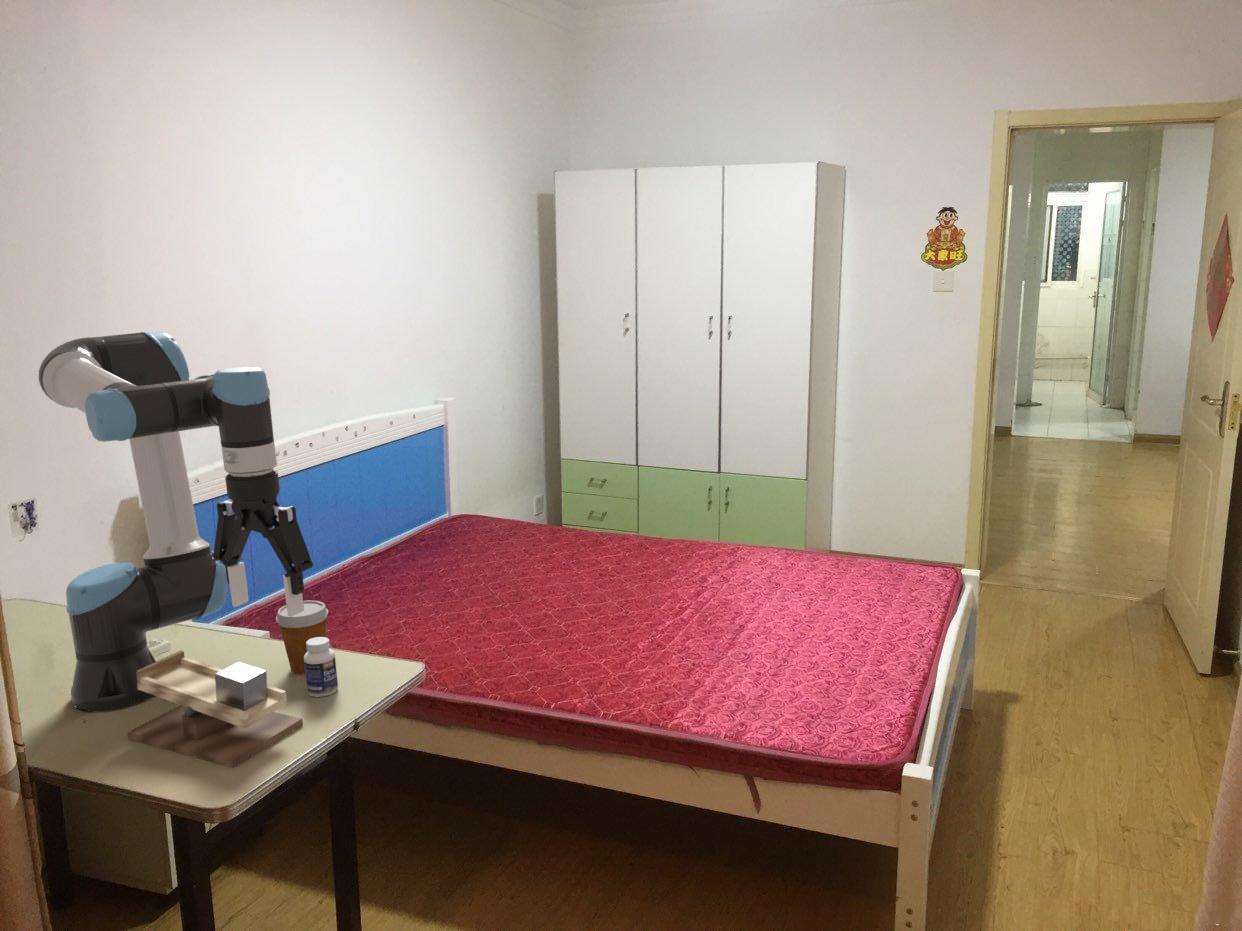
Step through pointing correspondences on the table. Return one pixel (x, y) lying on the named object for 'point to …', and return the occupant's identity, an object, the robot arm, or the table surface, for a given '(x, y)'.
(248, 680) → the block
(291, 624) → the disposable coffee cup
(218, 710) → the balance beam
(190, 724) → the stand
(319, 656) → the pill bottle
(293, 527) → the robot arm
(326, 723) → the table surface
